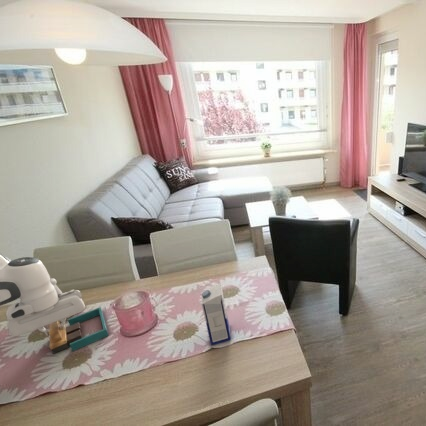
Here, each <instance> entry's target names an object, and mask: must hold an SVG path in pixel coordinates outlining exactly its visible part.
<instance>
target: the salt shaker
mask: <svg viewBox="0 0 426 426" xmlns="http://www.w3.org/2000/svg"><path fill="white" fill-rule="evenodd" d="M50 282H51V284H52V285H53V286H54V287H55V289H56V292H57V294H61V293H63V291H62V290H61V289H60V288H59V286H58V285H57V283H58V282H57V280H56V279H55V278H52V277H50Z"/></svg>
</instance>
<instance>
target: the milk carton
mask: <svg viewBox="0 0 426 426" xmlns="http://www.w3.org/2000/svg"><path fill="white" fill-rule="evenodd" d="M201 307H202V311H203V315H204V320H205V323H206V328H207V333H208V338H209V341H210V345H211V346H213V345H217V344H220V343H225V342H227V341H228V342H229V341H231V340H232V338H231V328H230V322H229V318H228V317H229V316H228V313H227V308H226V303H225V297H224V293H223V286H222V283H218V284H216V285H214V286H211V287H210V288H208V289H205V290H203V291H202V292H201Z"/></svg>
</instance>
